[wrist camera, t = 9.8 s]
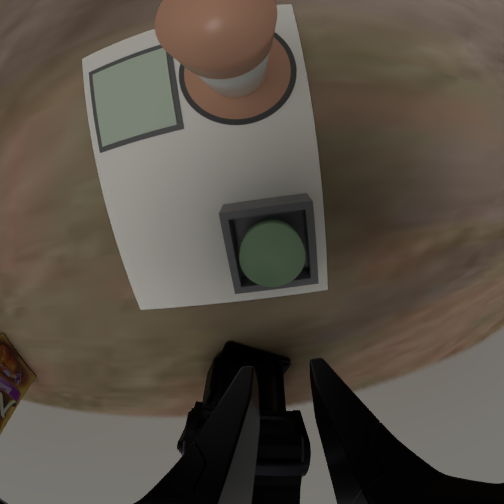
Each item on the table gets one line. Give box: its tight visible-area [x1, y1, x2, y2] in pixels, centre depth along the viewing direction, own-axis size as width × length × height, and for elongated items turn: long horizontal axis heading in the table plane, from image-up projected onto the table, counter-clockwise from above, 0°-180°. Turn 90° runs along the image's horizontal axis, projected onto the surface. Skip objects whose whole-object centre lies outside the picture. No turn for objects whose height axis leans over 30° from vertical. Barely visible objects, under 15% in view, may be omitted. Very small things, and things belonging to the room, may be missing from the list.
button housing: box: [219, 193, 319, 294], centre depth 19 cm, size 6×6×2 cm
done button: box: [239, 219, 305, 287], centre depth 18 cm, size 4×4×2 cm
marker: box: [155, 0, 277, 98], centre depth 11 cm, size 4×4×10 cm
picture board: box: [82, 4, 328, 310], centre depth 18 cm, size 22×16×1 cm
